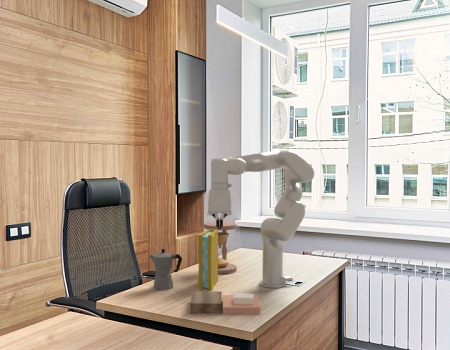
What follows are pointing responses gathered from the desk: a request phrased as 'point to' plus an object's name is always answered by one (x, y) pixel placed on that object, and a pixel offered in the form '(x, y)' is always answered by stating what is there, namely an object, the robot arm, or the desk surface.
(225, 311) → the mat
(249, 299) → the tile
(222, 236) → the hourglass
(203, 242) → the book
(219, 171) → the robot arm
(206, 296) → the deck
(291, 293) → the desk surface
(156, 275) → the coffeepot
